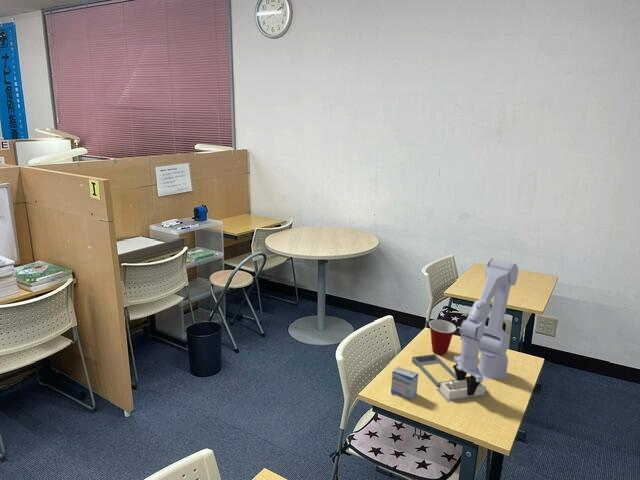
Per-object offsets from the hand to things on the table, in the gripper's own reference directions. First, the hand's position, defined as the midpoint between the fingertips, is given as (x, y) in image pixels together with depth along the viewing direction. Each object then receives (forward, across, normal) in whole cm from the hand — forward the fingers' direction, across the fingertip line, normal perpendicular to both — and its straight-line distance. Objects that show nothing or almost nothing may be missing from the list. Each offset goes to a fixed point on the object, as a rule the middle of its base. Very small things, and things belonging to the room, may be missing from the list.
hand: (465, 389), depth 163 cm
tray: (+1, -15, -3) cm, 15 cm away
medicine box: (+2, -4, -21) cm, 22 cm away
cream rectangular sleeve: (+1, 0, -1) cm, 1 cm away
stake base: (+1, 0, -1) cm, 2 cm away
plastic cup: (+2, -30, +7) cm, 30 cm away
